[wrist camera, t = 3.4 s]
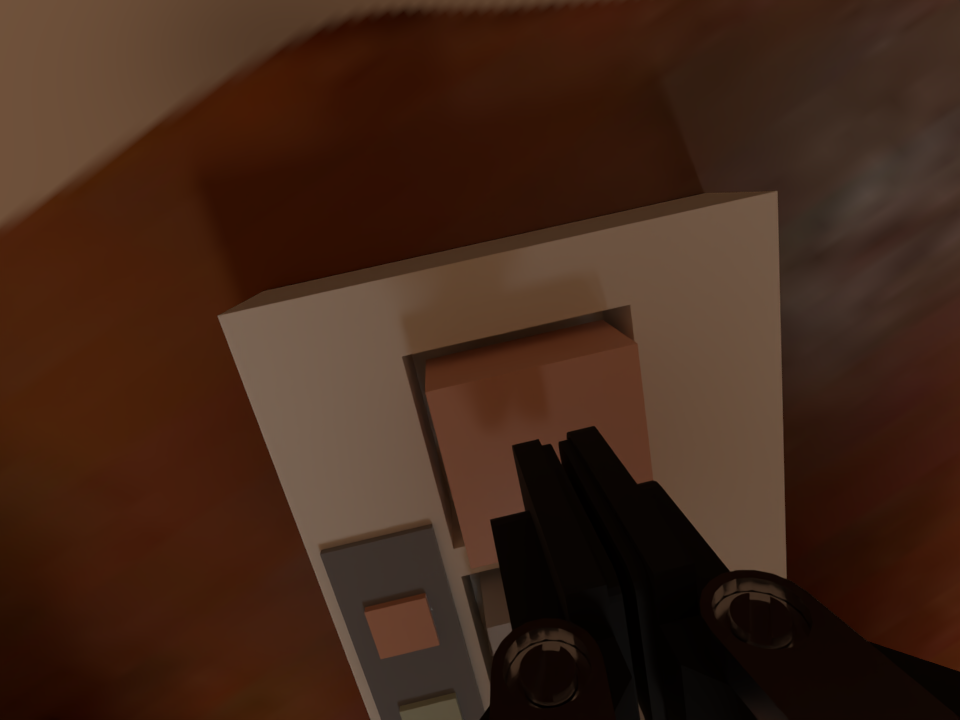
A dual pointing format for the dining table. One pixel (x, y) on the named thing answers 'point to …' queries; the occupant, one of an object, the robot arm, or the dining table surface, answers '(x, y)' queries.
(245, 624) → the dining table surface
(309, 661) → the dining table surface
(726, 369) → the keypad
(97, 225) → the dining table surface
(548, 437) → the terracotta key
